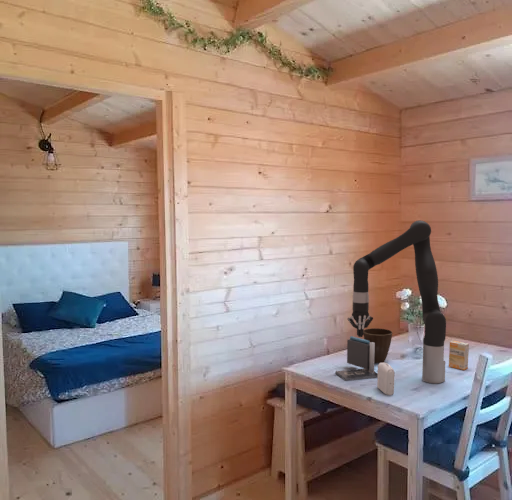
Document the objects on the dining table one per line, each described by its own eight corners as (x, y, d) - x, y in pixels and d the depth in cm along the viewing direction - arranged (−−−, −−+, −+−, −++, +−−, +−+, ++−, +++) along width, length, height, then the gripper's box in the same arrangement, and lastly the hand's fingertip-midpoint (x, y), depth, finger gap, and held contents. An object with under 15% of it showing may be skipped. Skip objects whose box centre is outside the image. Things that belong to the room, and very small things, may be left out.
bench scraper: (376, 370, 249) (376, 341, 248) (370, 372, 246) (371, 342, 245) (352, 363, 261) (352, 335, 259) (347, 364, 258) (347, 336, 257)
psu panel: (368, 370, 254) (368, 367, 254) (380, 377, 244) (380, 374, 244) (335, 373, 249) (335, 370, 249) (345, 380, 239) (345, 377, 239)
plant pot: (366, 365, 262) (367, 335, 260) (359, 357, 277) (360, 328, 275) (395, 365, 262) (396, 334, 261) (387, 357, 277) (387, 328, 276)
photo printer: (395, 395, 221) (396, 367, 220) (386, 395, 220) (386, 367, 219) (384, 386, 231) (385, 360, 230) (376, 387, 230) (376, 360, 229)
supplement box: (448, 367, 260) (449, 341, 259) (452, 365, 263) (453, 340, 262) (464, 370, 254) (465, 344, 253) (468, 368, 257) (469, 343, 256)
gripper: (369, 298, 249) (368, 333, 251) (344, 300, 246) (344, 335, 247) (377, 301, 242) (376, 337, 243) (351, 303, 238) (351, 339, 240)
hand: (360, 336), depth 245 cm, fingers closed
